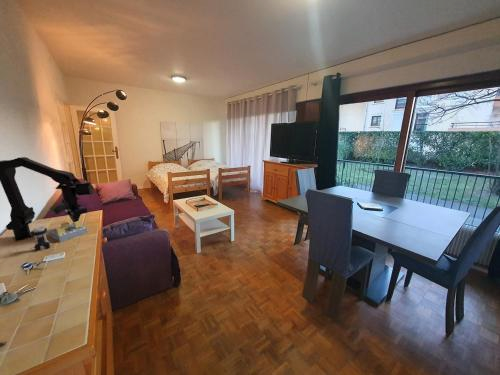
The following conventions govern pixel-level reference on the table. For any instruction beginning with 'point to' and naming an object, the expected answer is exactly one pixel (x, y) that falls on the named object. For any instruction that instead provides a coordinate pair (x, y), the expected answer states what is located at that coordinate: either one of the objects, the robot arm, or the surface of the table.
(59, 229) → the slider
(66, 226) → the slider
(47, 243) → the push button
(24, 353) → the table surface
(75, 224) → the slider
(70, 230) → the switch unit
